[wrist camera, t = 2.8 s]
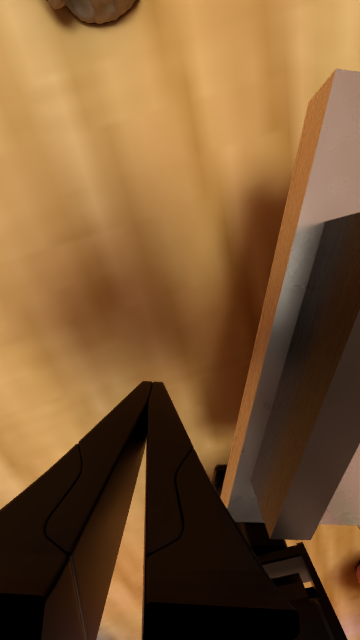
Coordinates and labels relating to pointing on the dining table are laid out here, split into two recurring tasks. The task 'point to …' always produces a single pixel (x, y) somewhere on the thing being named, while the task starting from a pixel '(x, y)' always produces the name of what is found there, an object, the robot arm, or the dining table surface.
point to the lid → (308, 341)
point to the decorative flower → (358, 573)
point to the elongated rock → (94, 9)
